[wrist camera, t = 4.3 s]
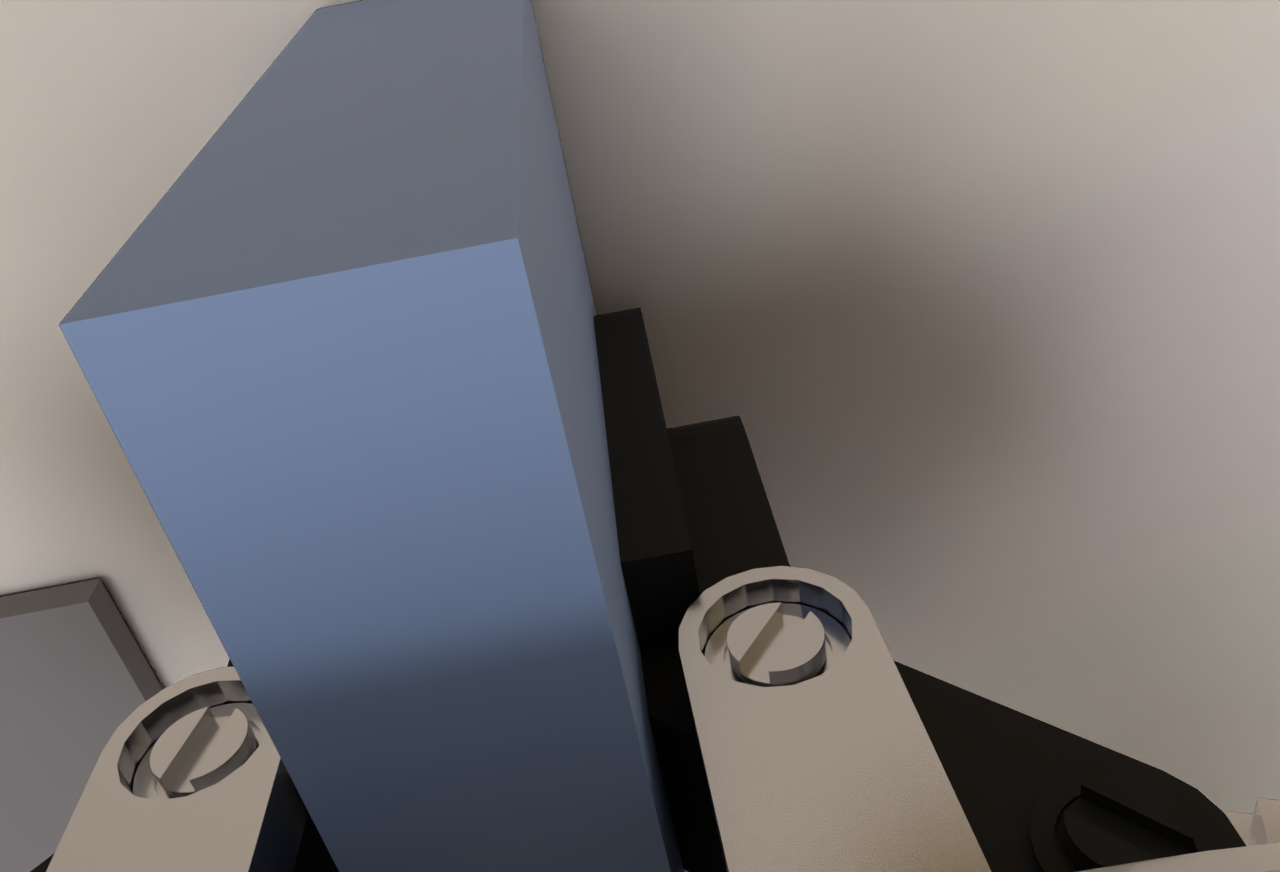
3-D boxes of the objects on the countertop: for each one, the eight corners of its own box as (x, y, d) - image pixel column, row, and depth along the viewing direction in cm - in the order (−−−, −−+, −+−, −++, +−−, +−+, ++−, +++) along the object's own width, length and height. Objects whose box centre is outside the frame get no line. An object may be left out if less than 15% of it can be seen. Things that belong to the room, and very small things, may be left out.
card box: (676, 703, 14) (760, 1239, 9) (533, 730, 14) (535, 1278, 9) (524, -32, 9) (516, 239, 4) (304, 11, 9) (31, 329, 4)
